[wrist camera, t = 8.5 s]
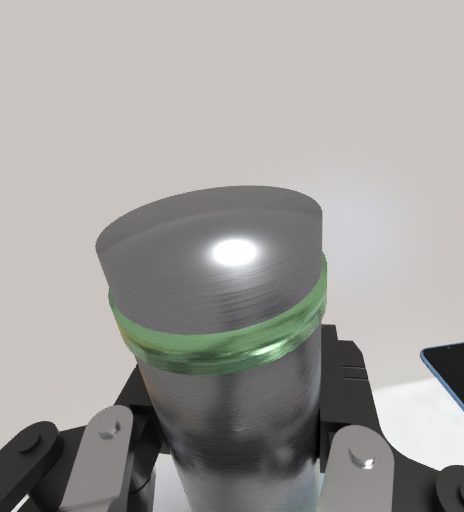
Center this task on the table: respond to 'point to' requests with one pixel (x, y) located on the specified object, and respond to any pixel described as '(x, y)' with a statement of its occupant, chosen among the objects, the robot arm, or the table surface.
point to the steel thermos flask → (227, 338)
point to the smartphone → (447, 367)
